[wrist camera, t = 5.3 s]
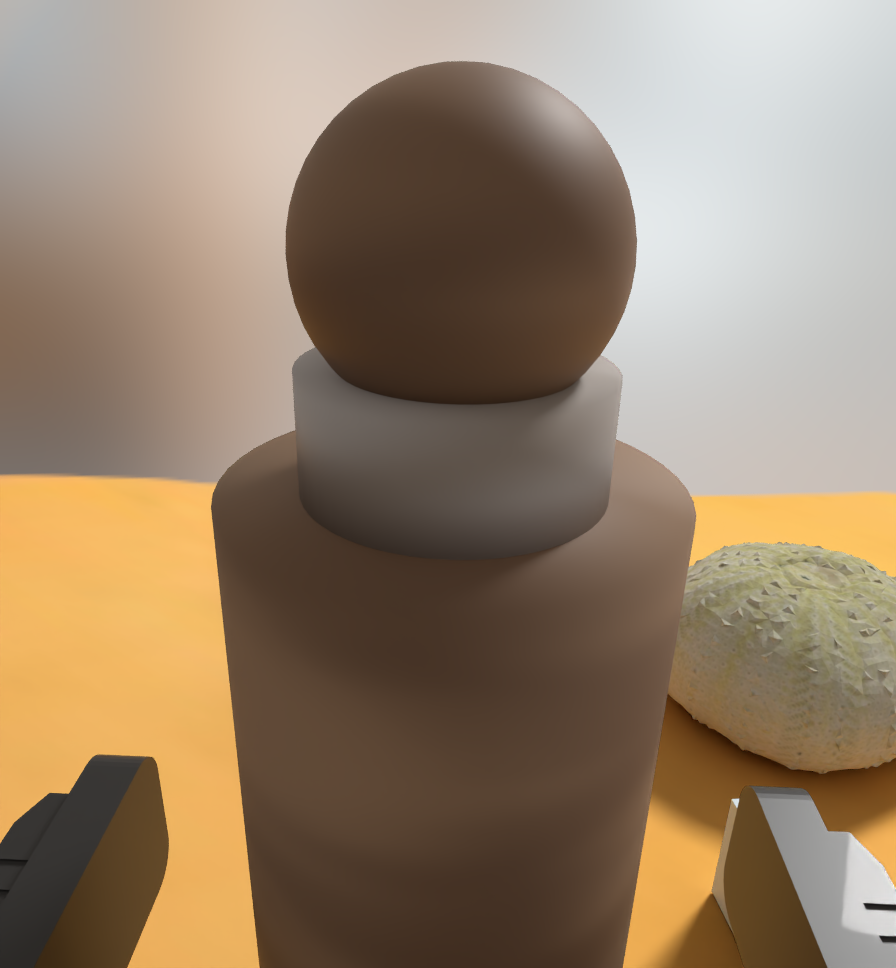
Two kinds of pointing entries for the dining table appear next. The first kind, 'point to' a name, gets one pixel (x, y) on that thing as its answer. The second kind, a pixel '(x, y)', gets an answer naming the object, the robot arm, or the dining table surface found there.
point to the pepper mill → (452, 548)
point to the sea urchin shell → (791, 654)
